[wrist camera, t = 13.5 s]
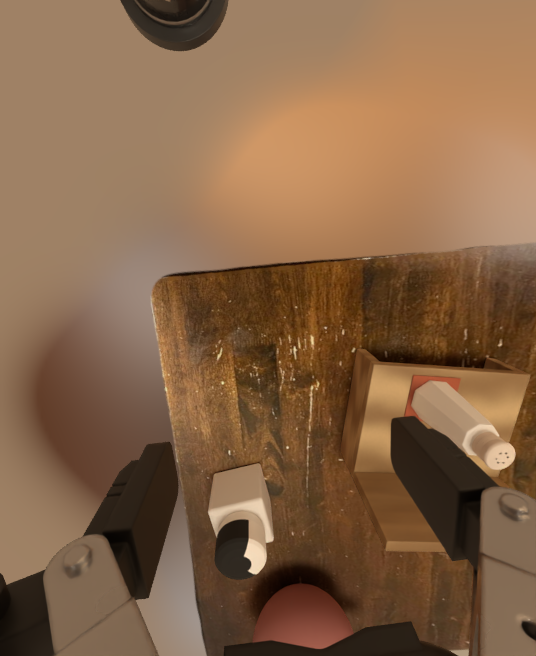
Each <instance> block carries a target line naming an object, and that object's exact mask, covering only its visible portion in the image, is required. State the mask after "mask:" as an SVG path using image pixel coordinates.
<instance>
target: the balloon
mask: <svg viewBox="0 0 536 656" xmlns="http://www.w3.org/2000/svg"><path fill="white" fill-rule="evenodd" d="M352 634H354V633H353V630H352V627H351V625H350V622H349V620H348V618H347V616H346V615H345V613H344V611H343V610H342V608H341V607H340V605H339V604H338V603H337V602H336V601H335V600H334V599H333V598H332V597H331V596H330V595H329V594H328V593H326V592H325V591H324V590H322V589H320V588H318V587H316V586H313V585H310V584H303V583H299V584H292V585H289V586H286V587H284V588H282V589H281V590H279V591H278V592H276V593H275V594H274V595H273V596H272V597H271V598H270V599H269V600H268V602H267V603H266V604H265V606H264V608H263V609H262V611H261V613H260V615H259V618H258V620H257V623H256V627H255V631H254V636H253V642H261V641H268V640H273V641H278V642H283V643H289V644H294V645H299V646H304V647H310V648H315V649H323V648H326V647H328V646H330V645H332V644H334V643H336V642H338V641H340V640H342V639H344V638H346V637H348V636H350V635H352Z"/></svg>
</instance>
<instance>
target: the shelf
mask: <svg viewBox="0 0 536 656" xmlns="http://www.w3.org/2000/svg"><path fill="white" fill-rule="evenodd" d="M529 378H530V374H527V373H525V372H523V371H521V370H519V369H516V368H514V367H512V366H510V365H508V364H505V363H503V362H501V361H499V360H497V359H494V358H486V361H485V365H484V368H483V369H480V368H465V367H450V366H436V365H421V364H406V363H391V362H379V361H378V360H377V359H376V358H375V357H374V356H373V355H371V354H370V353H369V352H368V351H367V350H366V349H357V353H356V359H355V365H354V370H353V376H352V382H351V388H350V394H349V400H348V406H347V412H346V418H345V423H344V429H343V435H342V441H341V447H340V452H341V454H342V456H343V458H344V460H345V463H346V465H347V467H348V469H349V472H350V474H351V476H352V478H353V480H354V483H355V485H356V487H357V489H358V491H359V494H360V496H361V498H362V500H363V503H364V505H365V507H366V509H367V511H368V514H369V516H370V518H371V520H372V523H373V525H374V527H375V529H376V532H377V534H378V536H379V538H380V540H381V543H382V545H383V547H384V549H385V551H423V552H446V550H445V549H444V547H443V546H442V544H441V543H440V541H439V540H438V538H437V536H436V535H435V533H434V532H433V530H432V529H431V527H430V526H429V524H428V523H427V521H426V519H425V518H424V516H423V515H422V513H421V512H420V510H419V509H418V507H417V506H416V504H415V503H414V501H413V499H412V498H411V496H410V495H409V493H408V492H407V490H406V489H405V487H404V486H403V484H402V482H401V481H400V479H399V478H398V476H397V475H396V473H395V471H394V469H393V466H392V462H391V456H390V447H391V421H392V419H393V418H397V417H406V416H415V417H417V418H418V419H419V420H420V421H421V422H422V423H423V424H424V425H425V426H426V427H427V428H428V429H430V428H432V427H431V426H430V425H428V424H427V423H426V422H424V421H423V420H422V419H420V418H419V417H418V415H417V414H416V412H415V411H414V409H413V408H412V407H411V404H412V400H413V396H414V393H415V390H416V389H417V388H419V387H420V386H422V385H423V384H425V383H426V382H428V381H429V380H432V381H441V382H447V383H448V384H449V385H450V386H451V387H452V388H453V389H454V390H455V391H456V392H458V393H459V394H460V395H461V396H462V397H463V398H464V399H465V400H466V401H467V402H468V403H470V404H471V405H472V406H473V407H474V408H475V409H476V410H477V411H478V412H479V413H481V414H482V415H483V416H484V417H485V418H486V419H487V420H488V421H489V422H490V423H491V424H492V425H493V426H494V428H495V429H496V431H497V433H498V434H499V437H500V438H501V439H503V440H504V441H505V442H507V443H509V441H510V438H511V435H512V432H513V428H514V425H515V422H516V419H517V416H518V413H519V410H520V407H521V403H522V400H523V397H524V394H525V391H526V388H527V385H528V382H529ZM433 429H434V428H433ZM458 448H459V447H458ZM463 452H464V451H463ZM464 453H465V452H464ZM465 454H466V456H467V457H469V458H471V459H472V460H473V461H474V462H475V463H476V464H477V465H478V466H479V467H480V468H481V469H482V470H483V471H484V472H485V473H486V474H487V475H488V476H489V477H490V478H491V479H492V480H494V481H495V482H496V483H497V484H498V485H499V486H500V487H506V488H510V487H508V486H507V485H506V484H505V483H504V482H503V481H502V480H501V479H500V478H499V477H498V475H499V472H500V470H494V469H491V468H489V467H488V466H486V464H485V463H484V461H482V460H481V459H480V458H479V457H478V456H475V455H468V454H467V453H465Z"/></svg>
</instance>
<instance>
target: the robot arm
mask: <svg viewBox="0 0 536 656" xmlns="http://www.w3.org/2000/svg"><path fill="white" fill-rule="evenodd" d="M134 1H135V3H136V4H137V6H138V7H139V9H140V10H141V11H142V12H143V13H144V14H145V15H146V16H147V17H148V18H149V19H151V20H152V21H154V22H155V23H157V24H159V25H162V26H165V27H169V28H182V27H186V26H189V25H191V24H193V23H195V22H196V21H198V20H199V19H200V18H201V17H202V16H203V15H204V14H205V12H206V11H207V10H208V8H209V6H210V4H211V2H212V0H134ZM390 456H391V462H392V466H393V469H394V471H395V473H396V475H397V476H398V478H399V479H400V481H401V482H402V484H403V486H404V487H405V489H406V490H407V492H408V493H409V495H410V496H411V498H412V499H413V501H414V503H415V504H416V506H417V507H418V509H419V510H420V512H421V513H422V515H423V516H424V518H425V519H426V521H427V523H428V524H429V526H430V527H431V529H432V530H433V532H434V533H435V535H436V536H437V538H438V540H439V541H440V543H441V544H442V546H443V547H444V549H445V550H446V552H447V553H448V555H449V557H450V558H451V560H452V561H457V560H464V559H468V560H469V561H470V563H471V564H472V566H473V574H472V596H471V620H470V643H469V656H536V500H534V499H533V498H531V497H530V496H528V495H526V494H524V493H522V492H520V491H517V490H514V489H511V488H506V487H500V486H499V485H498V484H497V483H496V482H495V481H494V480H492V479H491V478H490V477H489V476H488V475H487V474H486V473H485V472H484V471H483V470H482V469H481V468H480V467H479V466H478V465H477V464H476V463H475V462H474V461H473V460H472V459H471V458H469V457H467V456H466V454H465V453H464V452H463V451H462V450H461V449H460V448H458V446H457V445H456V444H455V443H454V442H453V441H452V440H451V439H450V438H449V437H447V436H446V435H444V434H442V433H440V432H439V431H437V430H435V429H433V428H430V429H428V428H427V427H426V426H425V425H424V424H423V423H422V422H421V421H420V420H419V419H418V418H417V417H415V416H406V417H397V418H393V419H392V421H391V447H390ZM112 485H113V486H112V487H111V488H110V490H109V491H108V493H107V497H106V498H105V499H104V500H103V502H102V504H101V505H100V507H99V509H98V511H97V513H96V514H95V516H94V518H93V519H92V521H91V523H90V525H89V526H88V528H87V530H86V532H85V533H84V535H83V537H81V538H78V539H76V540H74V541H72V542H71V543H69V544H67V545H66V546H65V547H63V548H62V549H61V550H60V551H59V552H58V553H57V554H56V555H55V556H54V557H53V558H52V559H51V561H50V562H49V564H48V566H47V567H46V569H45V570H43V571H41V572H39V573H36V574H33V575H31V576H28V577H26V578H23V579H20V580H18V581H15V582H13V583H10V584H8V585H6V582H5V580H4V578H3V575H2V574H1V573H0V656H159V655H158V653H157V650H156V648H155V646H154V643H153V641H152V638H151V636H150V633H149V631H148V629H147V626H146V624H145V622H144V619H143V617H142V615H141V612H140V610H139V607H138V605H137V603H136V600H137V599H146V598H149V595H150V591H151V587H152V584H153V580H154V577H155V573H156V570H157V566H158V563H159V559H160V556H161V552H162V549H163V545H164V542H165V538H166V535H167V531H168V528H169V524H170V521H171V517H172V514H173V510H174V507H175V503H176V500H177V496H178V476H177V471H176V466H175V460H174V455H173V450H172V445H171V443H170V442H163V443H154V444H148V445H147V446H146V447H145V449H144V451H143V453H142V455H141V457H140V459H139V460H135V461H131V462H130V463H129V464H128V465H127V466H126V467H125V468H123V470H121V471H120V472H119V474H118V476H117V478H116V479H115V481H114V483H113V484H112ZM224 656H457V655H456V654H454V653H452V652H451V651H448V650H446V649H444V648H442V647H440V646H437V645H434V644H431V643H428V642H424V641H419V639H418V636H417V634H416V632H415V629H414V627H413V625H412V622H403V623H396V624H388V625H381V626H373V627H366V628H364V629H362V630H360V631H358V632H356V633H354V634H352V635H350V636H348V637H346V638H344V639H342V640H340V641H338V642H336V643H334V644H332V645H330V646H328V647H326V648H323V649H315V648H310V647H304V646H299V645H294V644H289V643H283V642H278V641H273V640H268V641H261V642H253V643H246V644H238V645H231V646H224Z"/></svg>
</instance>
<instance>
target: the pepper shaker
mask: <svg viewBox="0 0 536 656" xmlns="http://www.w3.org/2000/svg"><path fill="white" fill-rule="evenodd" d="M411 407H412V408H413V409H414V411H415V412H416V414H417V415H418V417H419V418H420V419H422V420H423V421H424V422H426V423H427V424H428V425H430V426H431V427H432V428H434V429H435V430H437V431H439V432H440V433H442V434H444V435H446V436H447V437H449V438H450V439H451V440H452V441H453V442H454V443H455V444H456V445H457V446H458V447H459V448H460V449H461V450H462V451H464V452H465V453H467V454H468V455H475V456H478V457H479V458H480V459H481V460H482V461H484V463H485V464H486V466H488V467H489V468H491V469H494V470H500V469H504V468H506V467H508V466H509V465H510V464H511V463H512V462H513V460H514V458H515V449H514V447H513V446H512V445H511V444H509V443H507V442H505V441H504V440H503V439H501V438H500V437H499V434H498V433H497V431H496V429H495V428H494V426H493V425H492V424H491V423H490V422H489V421H488V420H487V419H486V418H485V417H484V416H483V415H482V414H481V413H479V412H478V411H477V410H476V409H475V408H474V407H473V406H472V405H471V404H470V403H468V402H467V401H466V400H465V399H464V398H463V397H462V396H461V395H460V394H459V393H458V392H456V391H455V390H454V389H453V388H452V387H451V386H450V385H449V384H448V383H447V382H441V381H432V380H429V381H428V382H426V383H425V384H423V385H422V386H420V387H419V388H417V389H416V390H415V393H414V396H413V400H412V404H411Z"/></svg>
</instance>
